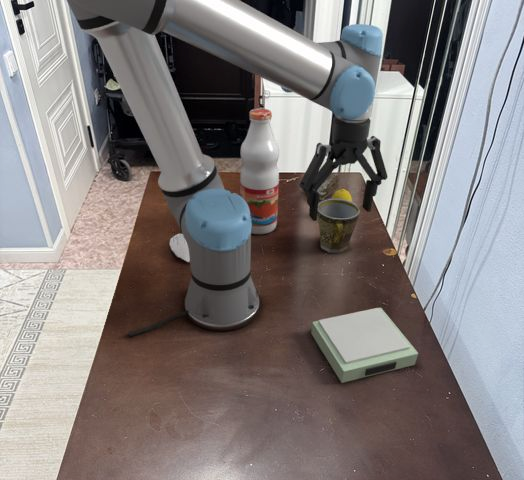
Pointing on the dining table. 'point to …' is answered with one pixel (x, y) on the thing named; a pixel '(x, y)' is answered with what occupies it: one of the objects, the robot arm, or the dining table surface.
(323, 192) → the rock sample
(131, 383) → the dining table surface
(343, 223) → the ceramic cup
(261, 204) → the fruit juice
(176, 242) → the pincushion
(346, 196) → the lemon
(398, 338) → the kitchen scale
